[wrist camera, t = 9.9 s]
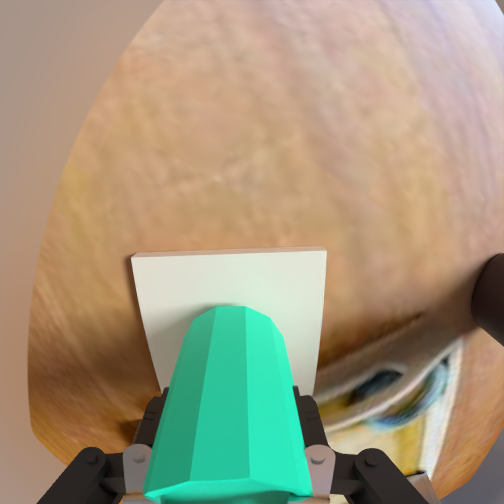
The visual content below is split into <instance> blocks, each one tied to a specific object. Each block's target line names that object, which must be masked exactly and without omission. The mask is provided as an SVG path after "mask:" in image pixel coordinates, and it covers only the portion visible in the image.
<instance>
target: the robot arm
mask: <svg viewBox="0 0 504 504" xmlns="http://www.w3.org/2000/svg"><path fill="white" fill-rule="evenodd" d="M292 388H293V393H294V398H295V402H296V407H297V412H298V416H299V421H300V426H301V431H302V435H303V440H304V445H305V446H306V447H307V448H306V449H305V455H306V460H307V465H308V470H309V475H310V480H311V485H312V490H313V497H305V496H297V495H296V494H294V493H292V492H291V494H290V496H289V499H288V502H287V504H330V499H329V495H330V494H340V495H344V497H345V498H346V500H347V501H348V503H349V504H441V503H440V501H439V498H438V496H437V494H436V492H435V490H434V488H433V486H432V484H431V482H430V480H429V478H428V476H427V474H426V473H423V474H416V475H412V476H409V477H405V476H404V475H403V473H402V472H401V471H400V470H399V469H398V468H397V467H396V465H395V464H394V463H393V462H392V461H391V460H390V458H389V457H388V456H387V455H386V454H385V453H384V452H383V451H381V450H379V449H376V448H368V449H365V450H363V451H361V452H360V453H359V454H358V455H353V454H342V453H338V452H336V451H334V450H333V449H331V447H330V446H329V445H328V443H327V439H326V436H325V432H324V429H323V425H322V422H321V419H320V415H319V412H318V408H317V404H316V402H315V400H314V399H313V398H312V397H311V396H310V395H303V396H300V393H299V389H298V386H293V387H292ZM168 391H169V387H165V388H164V390H163V393H162V396H161V397H155V396H154V398H153V399H152V400H151V401H150V402H149V403H148V405H147V407H146V410H145V413H144V416H143V420H142V422H141V425H140V428H139V431H138V434H137V437H136V440H135V443H134V445H131V446H129V447H128V448H126V449H125V451H124V452H122V453H114V454H104V452H103V451H102V450H101V449H99V448H96V447H87V448H85V449H83V450H82V451H81V452H80V453H79V454H78V455H77V456H76V457H75V459H74V460H73V461H72V462H71V463H70V465H69V466H68V467H67V468H66V469H65V470H64V472H63V473H62V474H61V475H60V476H59V478H58V479H57V480H56V481H55V483H54V484H53V485H52V486H51V487H50V488H49V490H48V491H47V492H46V493H45V495H43V497H42V498H41V499H40V500H39V501H38V503H37V504H119V502H120V501H121V499H122V498H123V504H169V503H168V502H167V500H166V497H165V494H163V495H159V496H156V497H149V496H144V494H143V493H142V490H143V485H144V481H145V477H146V473H147V469H148V465H149V461H150V458H151V454H152V449H151V448H152V446H153V444H154V441H155V437H156V433H157V430H158V426H159V423H160V419H161V415H162V412H163V408H164V405H165V401H166V398H167V395H168ZM125 493H126V494H125Z"/></svg>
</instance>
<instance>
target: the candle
mask: <svg viewBox="0 0 504 504" xmlns="http://www.w3.org/2000/svg"><path fill="white" fill-rule="evenodd" d="M293 386H295V385H294V381H293V377H292V372H291V368H290V363H289V359H288V355H287V350H286V346H285V342H284V337H283V335H282V334H281V332H280V331H279V330H278V328H277V327H276V325H275V324H274V322H273V321H272V319H271V318H270V317H268V316H266V315H264V314H262V313H260V312H258V311H255V310H253V309H251V308H249V307H247V306H217V307H215V308H213V309H211V310H209V311H208V312H206V313H204V314H202V315H200V316H198V317H197V318H195V319H194V320H193V322H192V324H191V326H190V328H189V330H188V331H187V333H186V335H185V337H184V339H183V343H182V346H181V349H180V352H179V355H178V358H177V362H176V365H175V368H174V371H173V375H172V378H171V381H170V384H169V391H168V395H167V398H166V401H165V405H164V408H163V412H162V415H161V419H160V423H159V426H158V430H157V433H156V437H155V441H154V444H153V446H152V448H151V449H152V454H151V458H150V461H149V465H148V469H147V473H146V477H145V481H144V485H143V490H142V493H143V494H144V496H149V497H156V496H159V495H163V494H165V497H166V500H167V502H168V503H169V504H287V502H288V499H289V496H290V494H291V492H292V493H294V494H296V495H297V496H305V497H313V490H312V485H311V480H310V475H309V470H308V465H307V460H306V455H305V449H306V448H307V447H306V446H305V445H304V440H303V435H302V431H301V426H300V421H299V416H298V412H297V407H296V402H295V398H294V393H293V388H292V387H293Z"/></svg>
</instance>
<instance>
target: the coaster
mask: <svg viewBox="0 0 504 504" xmlns="http://www.w3.org/2000/svg"><path fill="white" fill-rule="evenodd" d="M326 255H327V250H326V249H325V248H324V247H323V246H301V247H272V248H245V249H217V250H191V251H165V252H140V253H136V254H135V255H133V256H132V257H131V261H132V268H133V274H134V280H135V285H136V291H137V296H138V301H139V306H140V311H141V316H142V320H143V325H144V329H145V333H146V338H147V342H148V346H149V350H150V353H151V357H152V361H153V365H154V368H155V372H156V375H157V379H158V382H159V386H160V389H161V392H162V393H163V390H164V388H165V387H169V384H170V381H171V378H172V375H173V371H174V368H175V365H176V362H177V358H178V355H179V352H180V349H181V346H182V343H183V339H184V337H185V335H186V333H187V331H188V330H189V328H190V326H191V324H192V322H193V320H194V319H195V318H197V317H198V316H200V315H202V314H204V313H206V312H208V311H209V310H211V309H213V308H215V307H217V306H247V307H249V308H251V309H253V310H255V311H258V312H260V313H262V314H264V315H266V316H268V317H270V318H271V319H272V321H273V322H274V324H275V325H276V327H277V328H278V330H279V331H280V332H281V334H282V335H283V337H284V342H285V346H286V350H287V355H288V359H289V363H290V368H291V372H292V377H293V381H294V385H295V386H298V389H299V393H300V396H303V395H310V396H311V395H313V390H314V383H315V376H316V368H317V360H318V352H319V343H320V334H321V324H322V313H323V301H324V288H325V273H326Z"/></svg>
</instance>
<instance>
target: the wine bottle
mask: <svg viewBox="0 0 504 504" xmlns="http://www.w3.org/2000/svg"><path fill="white" fill-rule="evenodd" d="M472 316H473V318H474V320H475V321H476V323H477V324H478V325H479V326H480V327H481V328H482V329H484V330H485V331H486V332H487V333H488V334H490V335H491V336H492V337H493V338H494V339H495V340H497V341H498V342H499V343H500V344H501V345H502V346H504V253H502V254H499V255H497V256H495V257H494V258H493V259H492V260H491V261H490V262H489V263H488V264H487V266H486V267H485V268H484V270H483V272H482V274H481V275H480V278H479V280H478V282H477V284H476V287H475V290H474V294H473V298H472Z"/></svg>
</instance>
